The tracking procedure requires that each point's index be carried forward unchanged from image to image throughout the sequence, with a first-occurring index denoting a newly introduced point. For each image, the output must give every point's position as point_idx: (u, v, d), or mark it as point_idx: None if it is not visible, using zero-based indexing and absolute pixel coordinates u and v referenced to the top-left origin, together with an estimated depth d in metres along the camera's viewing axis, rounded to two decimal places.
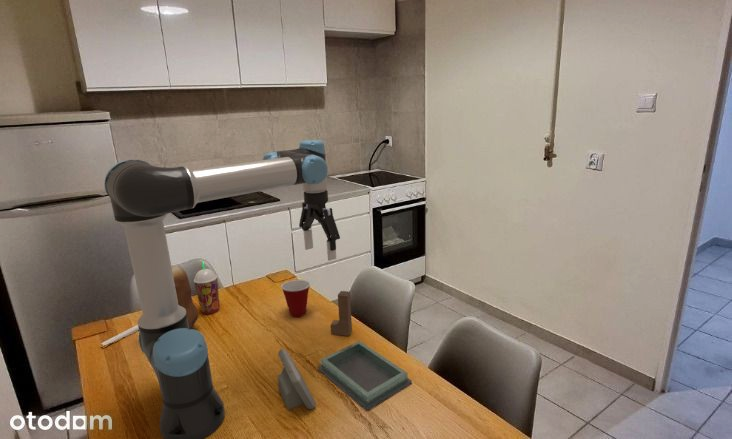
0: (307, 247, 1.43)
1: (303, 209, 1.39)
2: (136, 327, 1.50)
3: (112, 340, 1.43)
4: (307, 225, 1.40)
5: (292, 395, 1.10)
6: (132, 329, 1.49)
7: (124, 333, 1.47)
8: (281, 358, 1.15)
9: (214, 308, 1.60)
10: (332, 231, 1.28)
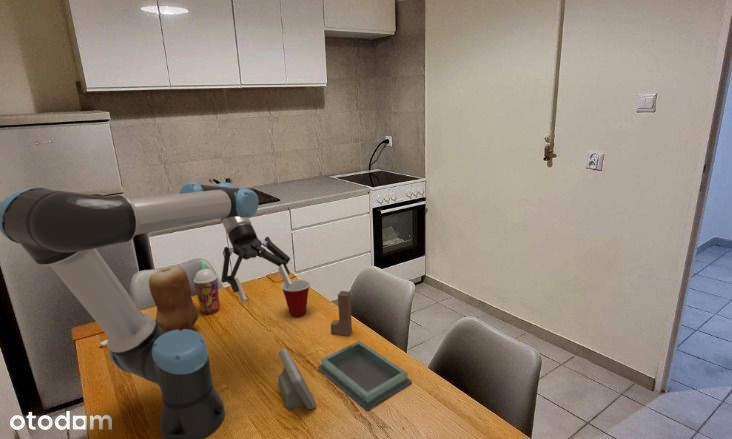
0: None
1: (228, 254, 1.18)
2: None
3: None
4: (236, 271, 1.17)
5: (293, 395, 1.09)
6: None
7: None
8: (281, 358, 1.15)
9: (214, 308, 1.60)
10: None
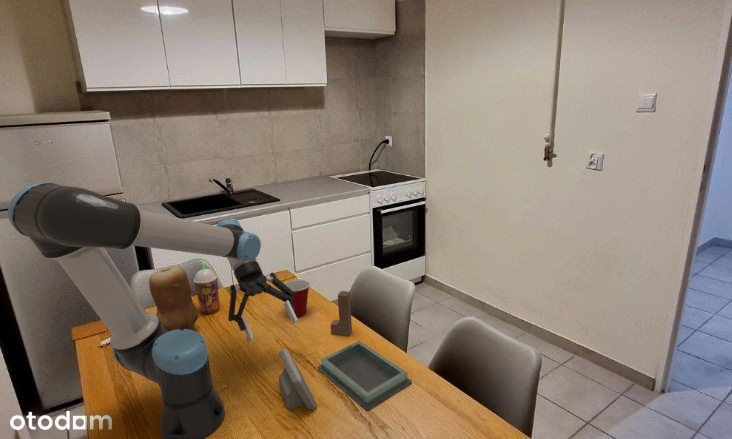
0: None
1: (234, 292, 1.19)
2: None
3: None
4: (243, 309, 1.18)
5: (293, 395, 1.09)
6: None
7: None
8: (282, 358, 1.15)
9: (214, 308, 1.60)
10: None
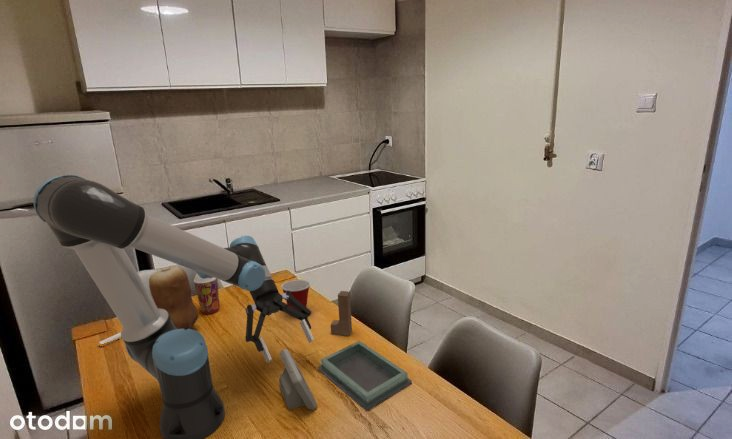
0: None
1: (251, 312, 1.18)
2: None
3: (110, 339, 1.43)
4: (260, 330, 1.17)
5: (293, 395, 1.09)
6: None
7: None
8: (282, 358, 1.15)
9: (214, 308, 1.60)
10: None
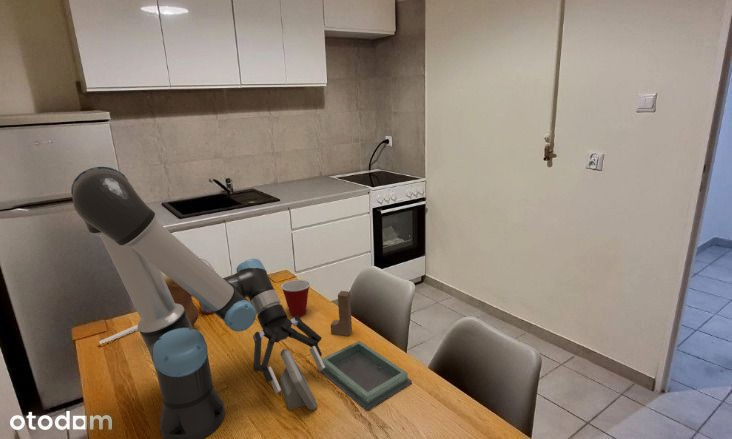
0: None
1: (259, 339, 1.13)
2: (136, 327, 1.50)
3: (110, 339, 1.44)
4: None
5: (294, 395, 1.09)
6: (131, 329, 1.49)
7: (123, 332, 1.47)
8: (283, 358, 1.15)
9: None
10: None
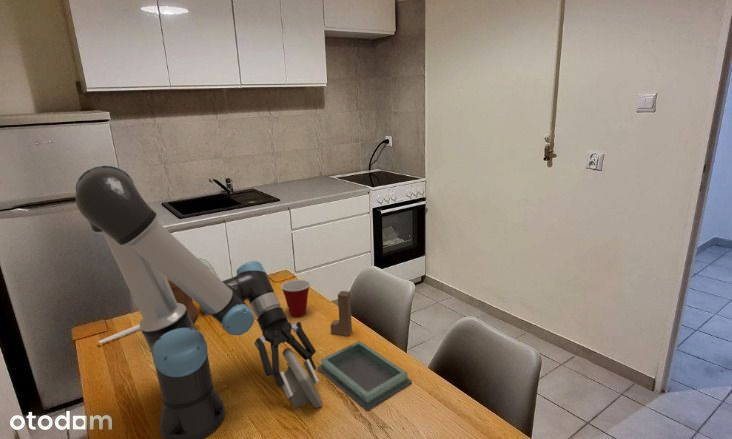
0: None
1: (262, 345, 1.12)
2: (136, 327, 1.50)
3: (109, 339, 1.44)
4: None
5: (299, 393, 1.10)
6: (131, 329, 1.49)
7: (123, 332, 1.47)
8: (286, 357, 1.15)
9: None
10: None
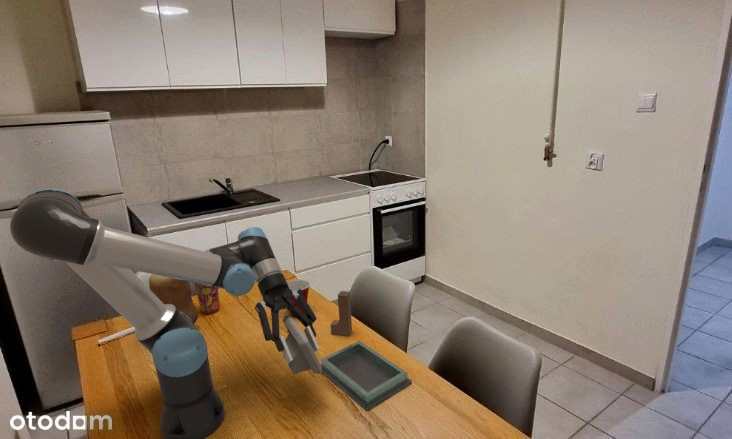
0: None
1: (262, 309, 1.10)
2: None
3: (109, 338, 1.44)
4: None
5: (299, 359, 1.07)
6: (131, 329, 1.49)
7: (122, 332, 1.47)
8: (286, 323, 1.13)
9: (214, 308, 1.60)
10: None
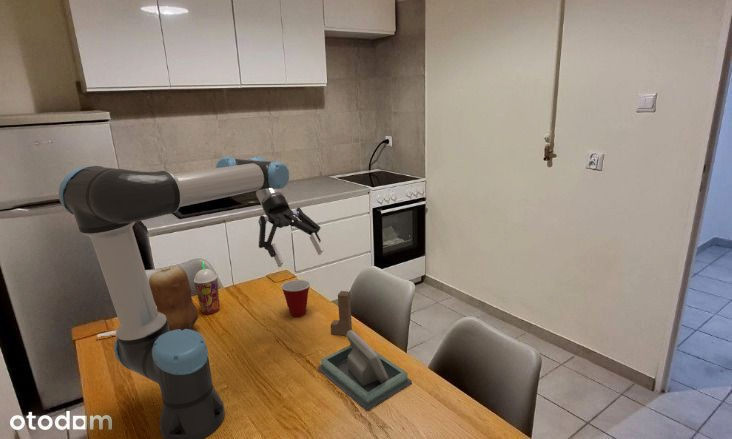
0: None
1: (264, 222, 1.25)
2: None
3: (107, 334, 1.46)
4: (272, 238, 1.24)
5: (367, 371, 1.16)
6: None
7: None
8: (351, 338, 1.21)
9: (214, 308, 1.60)
10: None
